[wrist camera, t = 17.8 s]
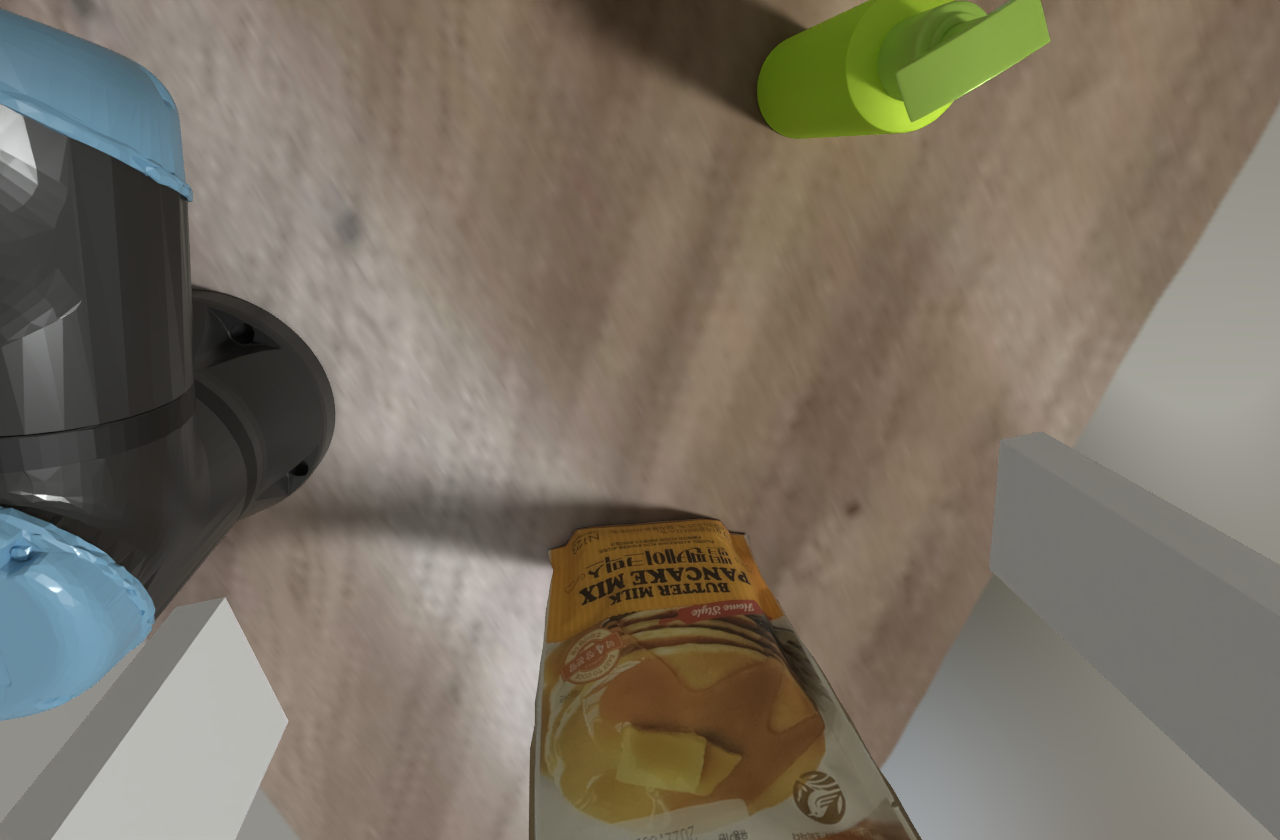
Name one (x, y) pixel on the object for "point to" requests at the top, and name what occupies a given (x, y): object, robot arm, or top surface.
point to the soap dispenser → (891, 65)
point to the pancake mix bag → (689, 702)
